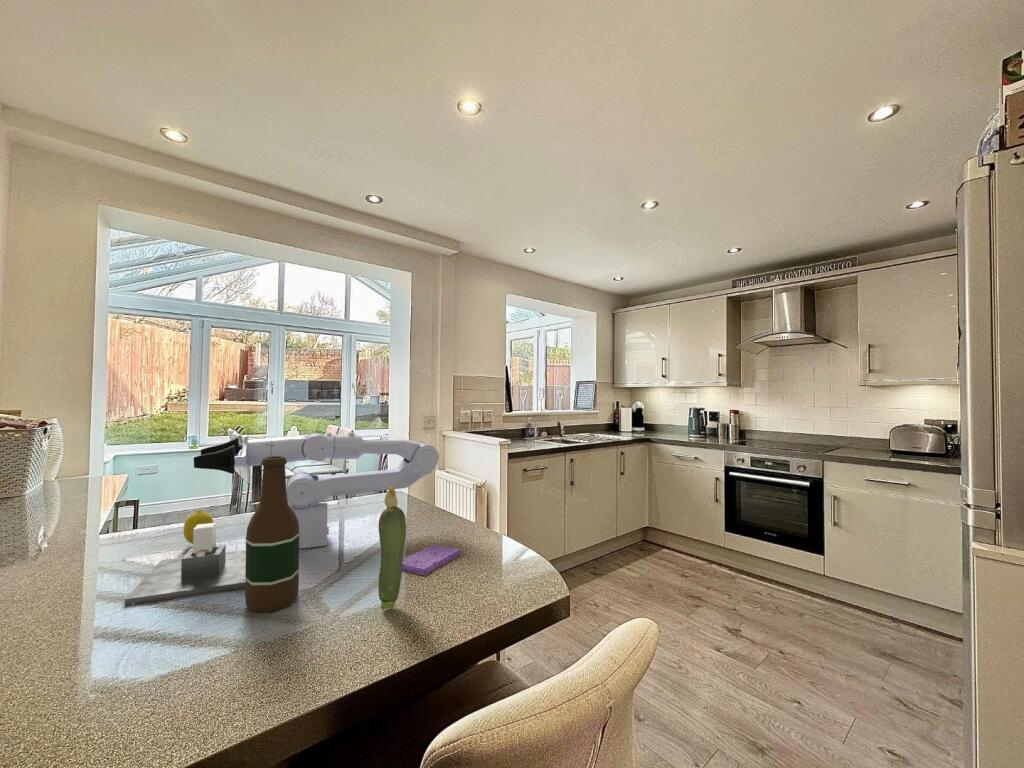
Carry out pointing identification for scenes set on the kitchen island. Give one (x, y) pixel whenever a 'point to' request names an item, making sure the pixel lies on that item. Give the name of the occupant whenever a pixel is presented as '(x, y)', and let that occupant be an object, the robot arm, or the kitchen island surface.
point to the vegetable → (391, 550)
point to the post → (204, 538)
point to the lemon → (195, 523)
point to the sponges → (429, 559)
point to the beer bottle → (272, 545)
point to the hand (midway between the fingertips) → (197, 458)
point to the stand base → (192, 576)
